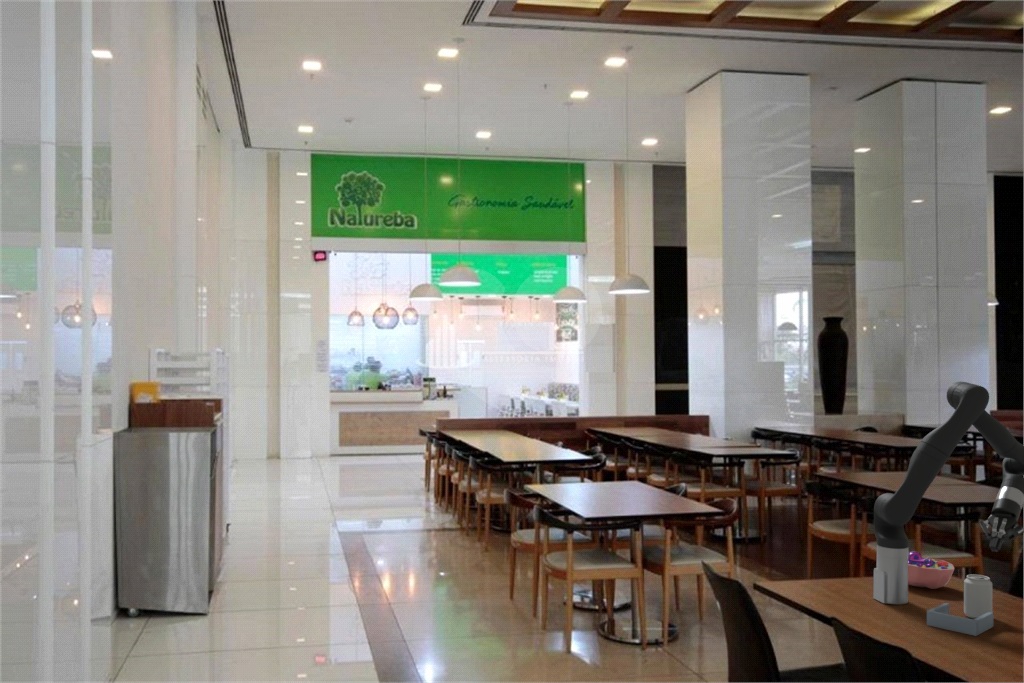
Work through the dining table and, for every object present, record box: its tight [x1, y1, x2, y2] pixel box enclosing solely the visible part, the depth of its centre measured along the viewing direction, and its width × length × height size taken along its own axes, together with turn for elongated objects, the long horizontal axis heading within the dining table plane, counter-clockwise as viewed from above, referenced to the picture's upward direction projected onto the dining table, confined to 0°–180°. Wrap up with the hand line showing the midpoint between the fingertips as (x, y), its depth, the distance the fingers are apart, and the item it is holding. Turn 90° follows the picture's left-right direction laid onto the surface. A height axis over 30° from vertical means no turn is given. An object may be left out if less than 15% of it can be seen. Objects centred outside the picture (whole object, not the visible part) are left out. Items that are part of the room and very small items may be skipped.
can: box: [963, 573, 993, 619], centre depth 272 cm, size 8×8×12 cm
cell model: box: [908, 550, 955, 590], centre depth 306 cm, size 17×20×11 cm
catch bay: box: [926, 602, 994, 637], centre depth 263 cm, size 13×13×4 cm
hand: (993, 549), depth 280 cm, fingers closed
